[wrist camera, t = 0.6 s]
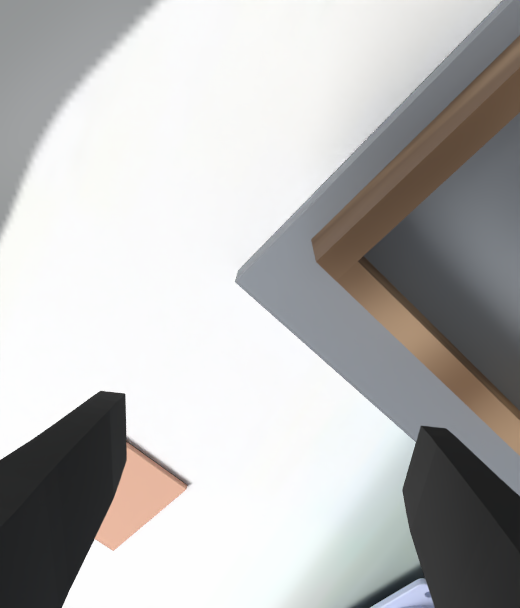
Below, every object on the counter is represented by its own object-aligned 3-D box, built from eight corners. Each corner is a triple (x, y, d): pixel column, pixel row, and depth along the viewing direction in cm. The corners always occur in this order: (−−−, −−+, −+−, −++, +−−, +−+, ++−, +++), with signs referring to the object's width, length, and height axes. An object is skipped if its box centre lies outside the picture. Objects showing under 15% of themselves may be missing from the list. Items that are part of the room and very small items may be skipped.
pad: (187, 485, 26) (186, 489, 25) (115, 546, 28) (113, 550, 28) (86, 412, 24) (83, 416, 24) (17, 483, 26) (14, 487, 26)
